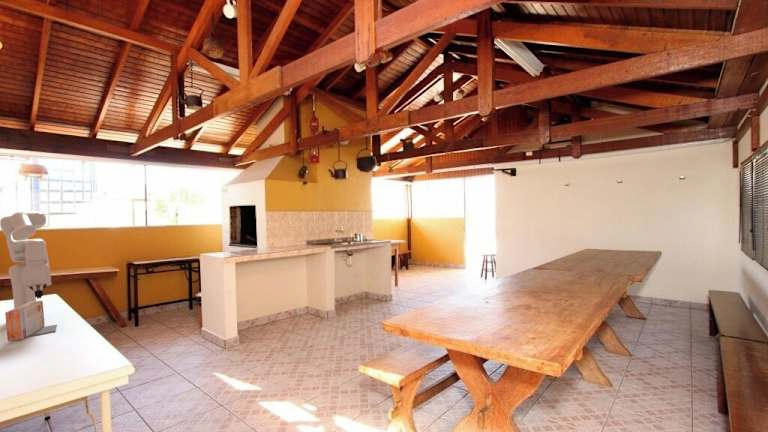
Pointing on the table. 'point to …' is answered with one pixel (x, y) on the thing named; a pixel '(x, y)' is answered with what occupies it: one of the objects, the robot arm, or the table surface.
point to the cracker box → (24, 320)
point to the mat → (44, 330)
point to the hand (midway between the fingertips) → (39, 297)
